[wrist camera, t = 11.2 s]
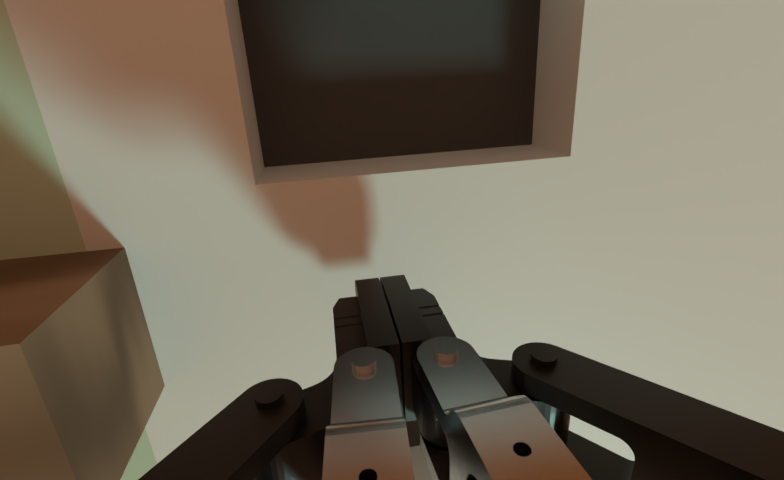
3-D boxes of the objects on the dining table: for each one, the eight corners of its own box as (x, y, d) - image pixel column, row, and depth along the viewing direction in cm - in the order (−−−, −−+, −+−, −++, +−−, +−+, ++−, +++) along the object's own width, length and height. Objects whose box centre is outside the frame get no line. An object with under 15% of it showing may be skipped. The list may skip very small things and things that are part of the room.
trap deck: (-319, -107, 11) (-968, -296, 5) (920, -107, 16) (1236, -202, 11) (24, 545, 20) (-90, 731, 14) (759, 406, 25) (888, 501, 19)
